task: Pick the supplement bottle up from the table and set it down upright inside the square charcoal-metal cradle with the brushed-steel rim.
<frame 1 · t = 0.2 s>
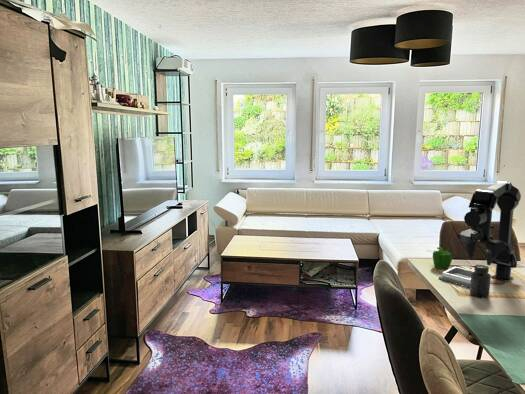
hand: (479, 261, 157), 14 cm above the table, tool pointing down, fingers open, 9 cm apart
bell pepper: (441, 268, 190), on the table
cradle: (461, 279, 176), on the table
supplement bottle: (479, 295, 159), on the table
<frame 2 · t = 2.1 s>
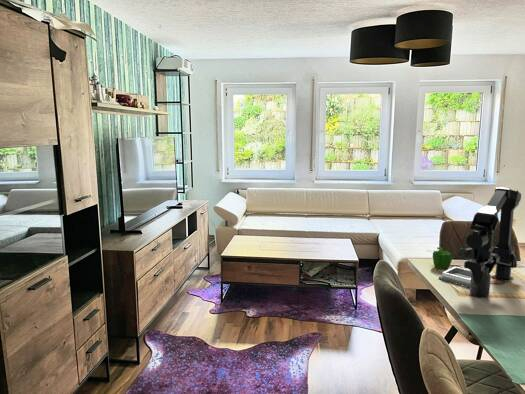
hand: (480, 281, 158), 6 cm above the table, tool pointing down, fingers closed on supplement bottle, 7 cm apart
supplement bottle: (479, 295, 159), on the table, touching gripper
everything else where it was.
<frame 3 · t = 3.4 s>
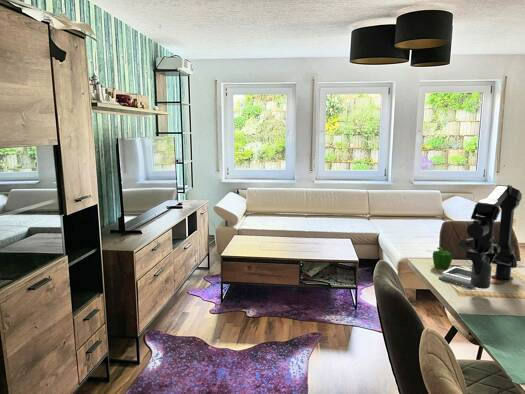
hand: (481, 272, 157), 9 cm above the table, tool pointing down, fingers closed on supplement bottle, 7 cm apart
supplement bottle: (479, 286, 158), point 4 cm above the table, touching gripper
everything else where it was.
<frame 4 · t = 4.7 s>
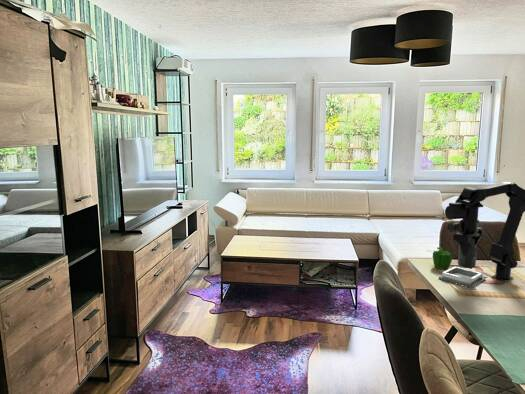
hand: (467, 253, 170), 13 cm above the table, tool pointing down, fingers closed on supplement bottle, 7 cm apart
supplement bottle: (466, 266, 171), point 7 cm above the table, touching gripper
everything else where it was.
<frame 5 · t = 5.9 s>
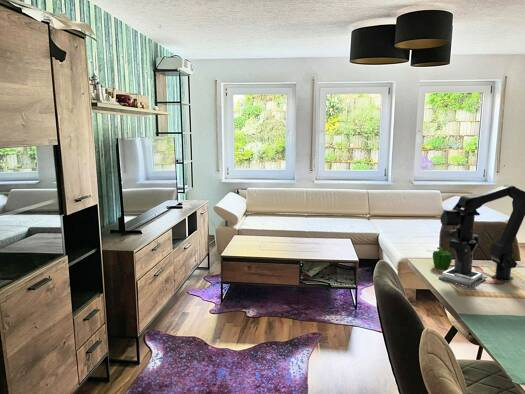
hand: (463, 260, 174), 9 cm above the table, tool pointing down, fingers closed on supplement bottle, 7 cm apart
supplement bottle: (462, 272, 175), point 3 cm above the table, touching gripper
everything else where it was.
when the fingers open (8 cm above the table, at t = 7.0 s): supplement bottle drops 1 cm, resting on cradle.
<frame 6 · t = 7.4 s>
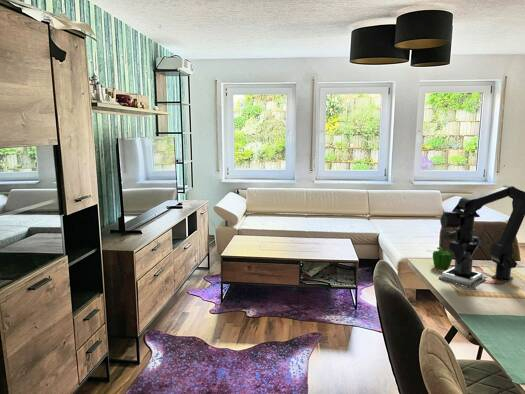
hand: (463, 261, 174), 8 cm above the table, tool pointing down, fingers open, 9 cm apart
supplement bottle: (462, 277, 176), point 1 cm above the table, touching cradle
everything else where it was.
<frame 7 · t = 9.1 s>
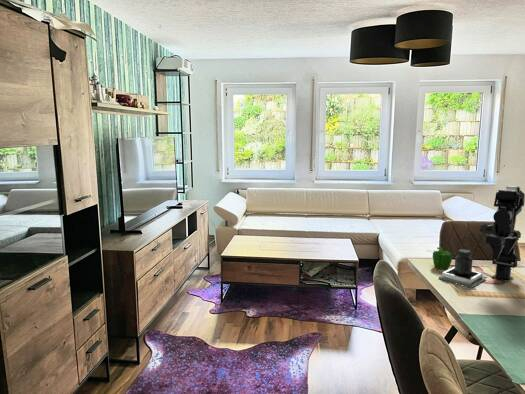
hand: (501, 256, 165), 13 cm above the table, tool pointing down, fingers open, 9 cm apart
nothing on the table moved.
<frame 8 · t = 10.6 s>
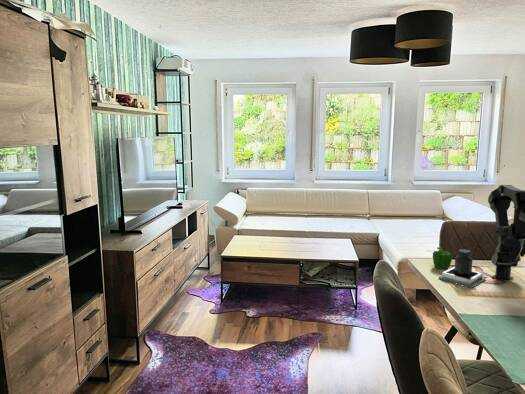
hand: (517, 259, 162), 13 cm above the table, tool pointing down, fingers open, 9 cm apart
nothing on the table moved.
at the end: supplement bottle 0.3 cm off-centre on the cradle, point 0.8 cm above the cradle's base; supplement bottle tilted 0°; the gripper is holding nothing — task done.
